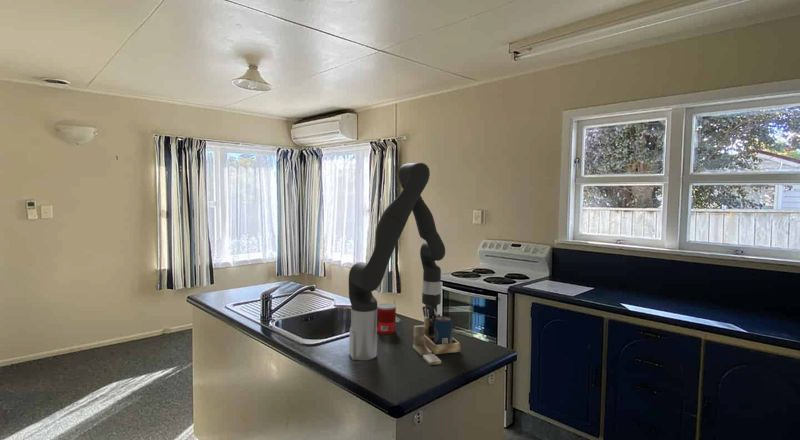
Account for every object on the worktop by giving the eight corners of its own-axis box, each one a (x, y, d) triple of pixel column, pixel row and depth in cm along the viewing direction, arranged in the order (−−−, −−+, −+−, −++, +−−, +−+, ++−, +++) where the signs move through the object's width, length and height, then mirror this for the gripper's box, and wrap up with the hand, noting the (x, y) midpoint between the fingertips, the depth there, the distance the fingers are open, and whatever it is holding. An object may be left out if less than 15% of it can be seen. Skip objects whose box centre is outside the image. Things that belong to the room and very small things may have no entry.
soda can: (432, 346, 159) (432, 315, 159) (449, 346, 160) (450, 315, 159) (435, 353, 153) (436, 321, 152) (453, 353, 153) (454, 321, 152)
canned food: (398, 332, 175) (399, 306, 174) (382, 335, 170) (383, 309, 169) (388, 327, 181) (389, 302, 180) (373, 330, 176) (373, 304, 176)
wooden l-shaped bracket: (429, 365, 142) (430, 341, 142) (412, 347, 158) (413, 326, 158) (441, 363, 143) (441, 340, 143) (423, 346, 160) (423, 325, 159)
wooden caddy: (434, 354, 151) (435, 331, 150) (418, 338, 167) (418, 317, 167) (459, 351, 154) (460, 329, 153) (440, 335, 170) (441, 315, 170)
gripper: (416, 288, 172) (415, 329, 173) (429, 296, 159) (428, 340, 160) (433, 287, 175) (432, 328, 176) (447, 295, 162) (445, 339, 163)
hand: (430, 333), depth 168 cm, fingers closed on wooden caddy
